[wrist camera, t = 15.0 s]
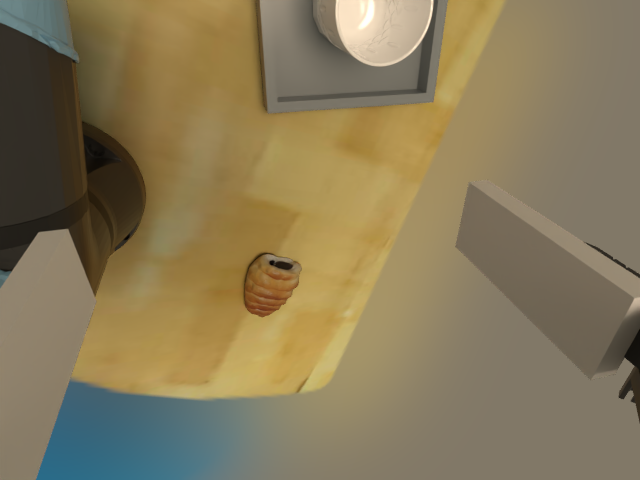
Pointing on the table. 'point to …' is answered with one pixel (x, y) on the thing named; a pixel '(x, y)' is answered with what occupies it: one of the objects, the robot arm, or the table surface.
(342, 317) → the table surface
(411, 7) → the white cup
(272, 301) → the pastry
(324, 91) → the tray
